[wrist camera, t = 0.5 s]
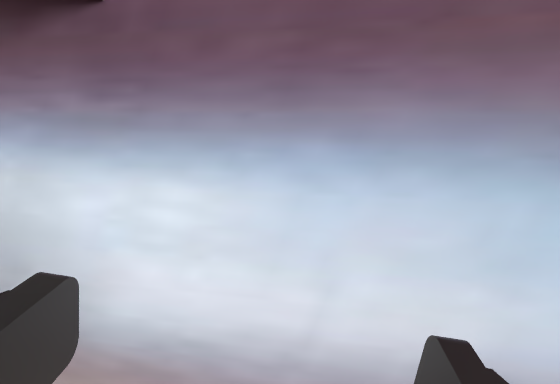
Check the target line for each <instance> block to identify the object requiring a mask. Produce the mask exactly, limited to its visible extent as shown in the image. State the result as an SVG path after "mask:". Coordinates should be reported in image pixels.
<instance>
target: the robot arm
mask: <svg viewBox="0 0 560 384" xmlns="http://www.w3.org/2000/svg"><path fill="white" fill-rule="evenodd" d="M78 338H79V285H78V281H77V280H76V278H74V277H69V276H62V275H56V274H50V273H44V272H39V273H36V274H35V275H33V276H32V277H30V278H29V279H27V280H26V281H24V282H23V283H21V284H20V285H18V286H17V287H15V288H14V289H12V290H11V291H9V290H8V291H5V292H3V293H0V384H52V383H53V382H54V381H55V380H56V378H57V377H58V376H59V375H60V374H61V373H62V371H63V370H64V369H65V368H66V367H67V365H68V364H69V363H70V361H71V359H72V357H73V355H74V353H75V350H76V347H77V344H78ZM414 384H509V383H507V382H506V381H505V380H504V379H503V378H502V377H501V376H499V375H498V374H497V373H496V372H495V371H494V370H493V369H488V368H486V367H485V366H484V364H483V363H482V361H481V360H480V358H479V357H478V355H477V354H476V352H475V351H474V349H473V348H472V346H471V345H470V344H469V343H468V342H467V341H464V340H458V339H452V338H446V337H439V336H433V335H431V336H429V337H428V339H427V340H426V343H425V346H424V349H423V353H422V356H421V360H420V364H419V367H418V371H417V374H416V378H415V381H414Z"/></svg>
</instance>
